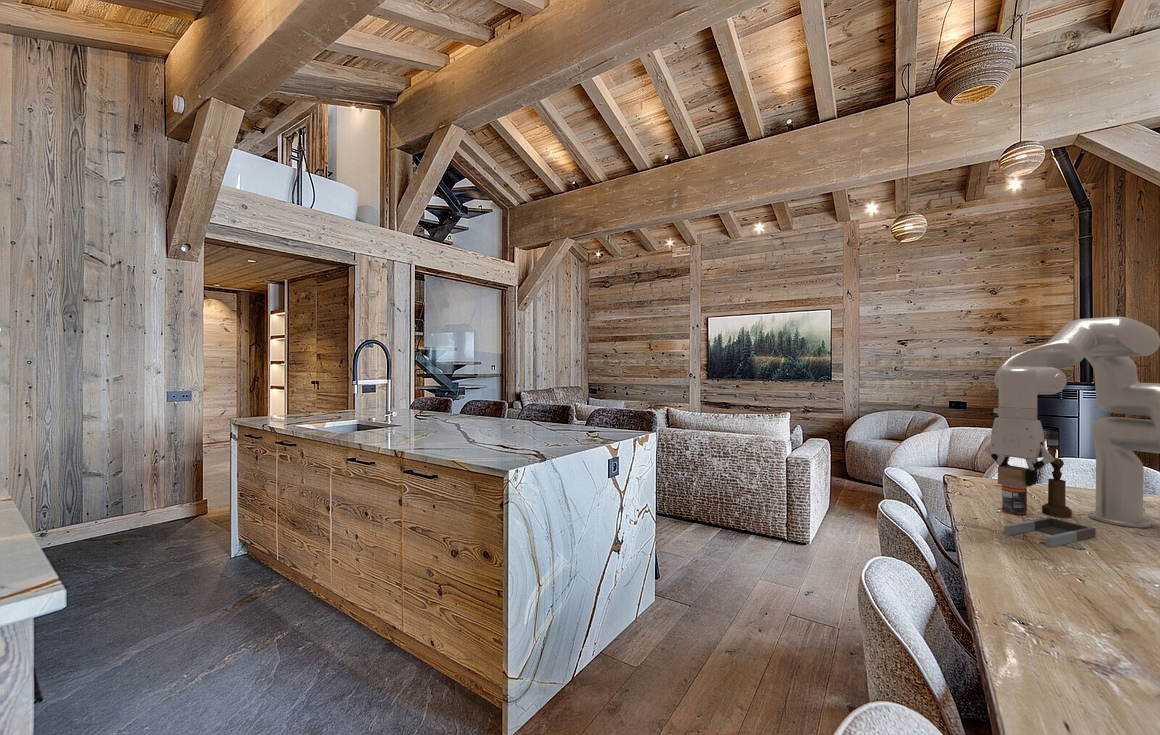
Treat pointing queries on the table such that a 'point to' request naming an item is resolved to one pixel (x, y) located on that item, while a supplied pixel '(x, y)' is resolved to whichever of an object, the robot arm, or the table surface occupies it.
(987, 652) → the table surface
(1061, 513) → the pepper mill
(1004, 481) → the walnut block
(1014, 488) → the supplement bottle
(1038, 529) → the grey u-shaped bracket
